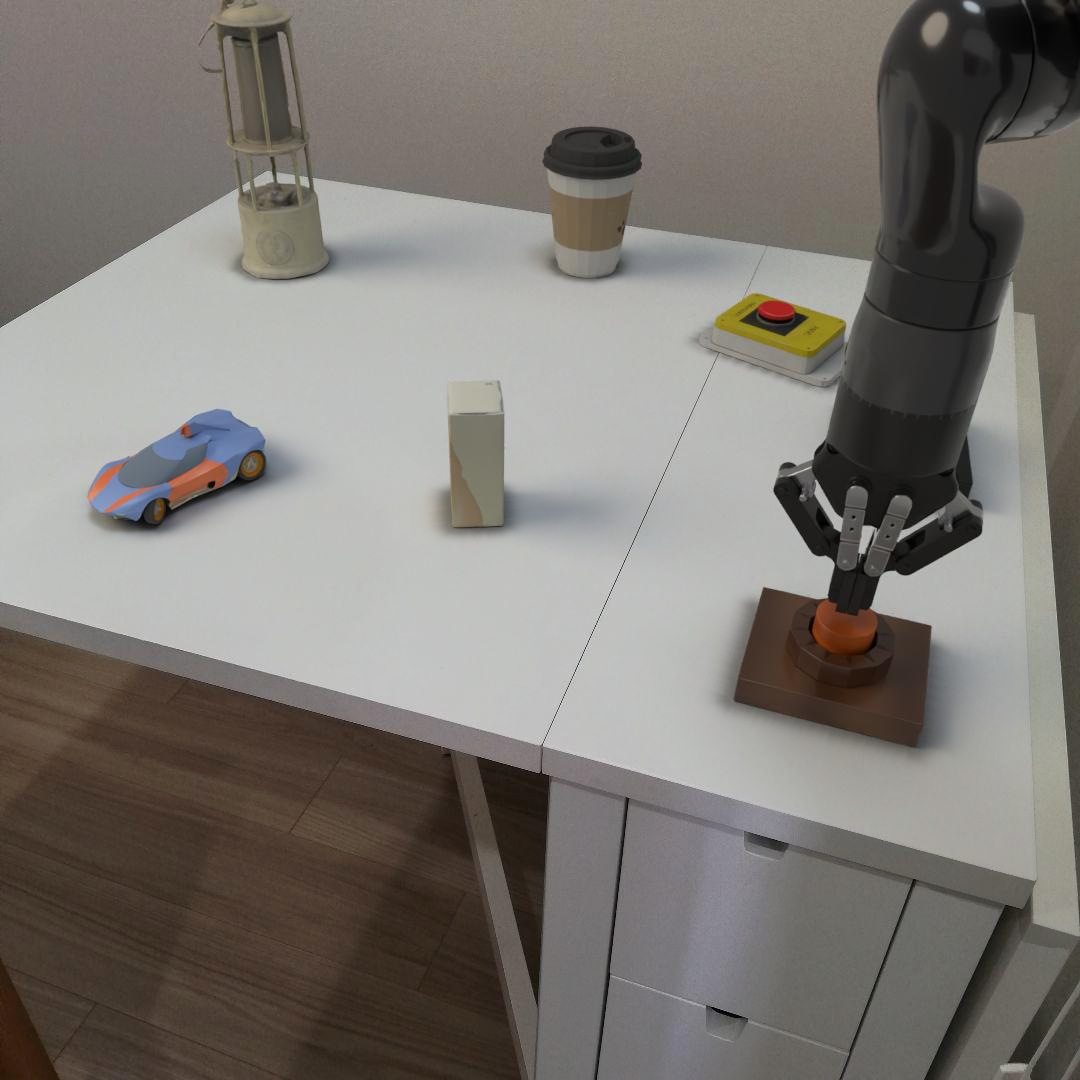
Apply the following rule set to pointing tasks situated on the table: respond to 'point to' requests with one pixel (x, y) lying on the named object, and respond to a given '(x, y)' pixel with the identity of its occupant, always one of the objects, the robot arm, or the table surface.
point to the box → (476, 452)
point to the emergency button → (781, 338)
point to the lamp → (269, 144)
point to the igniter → (836, 671)
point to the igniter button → (844, 630)
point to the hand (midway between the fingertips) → (847, 606)
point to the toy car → (179, 467)
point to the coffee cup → (590, 196)
